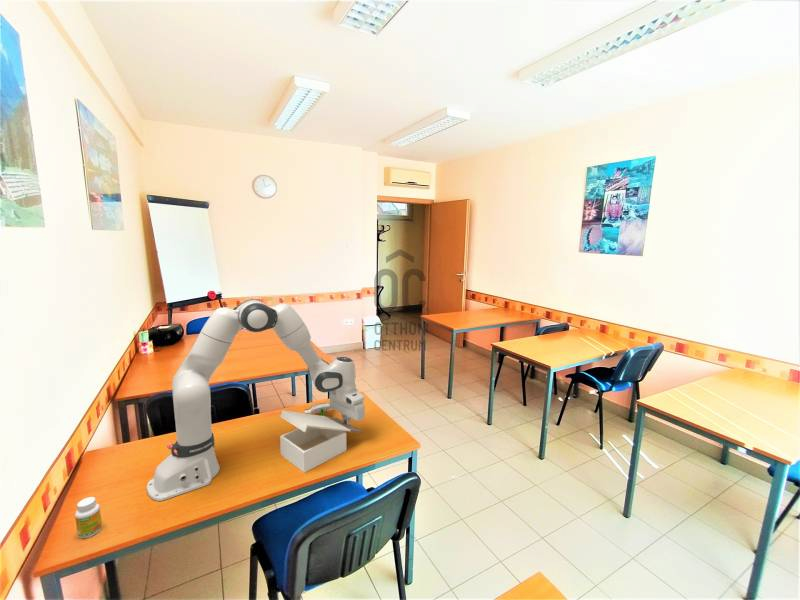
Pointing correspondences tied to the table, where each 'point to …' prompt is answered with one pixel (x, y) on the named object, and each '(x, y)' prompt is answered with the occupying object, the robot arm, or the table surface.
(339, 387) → the robot arm
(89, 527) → the supplement bottle
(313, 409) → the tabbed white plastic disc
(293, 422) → the lid
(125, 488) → the table surface
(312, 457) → the box
